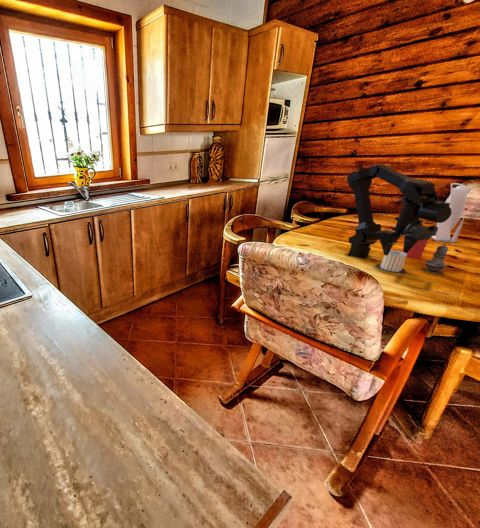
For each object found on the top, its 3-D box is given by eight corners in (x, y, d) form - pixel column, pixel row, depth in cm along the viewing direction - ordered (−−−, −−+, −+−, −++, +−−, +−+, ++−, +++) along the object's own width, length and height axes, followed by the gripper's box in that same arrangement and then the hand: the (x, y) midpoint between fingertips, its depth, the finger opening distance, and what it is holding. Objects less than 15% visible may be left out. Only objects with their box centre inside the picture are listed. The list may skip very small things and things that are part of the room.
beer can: (416, 260, 120) (427, 234, 116) (397, 255, 126) (406, 230, 121) (423, 257, 123) (434, 231, 118) (404, 252, 129) (413, 228, 124)
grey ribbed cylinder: (378, 268, 115) (383, 252, 112) (382, 264, 118) (387, 248, 115) (399, 273, 110) (405, 257, 107) (402, 268, 114) (408, 252, 111)
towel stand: (373, 269, 115) (376, 259, 113) (378, 263, 120) (382, 253, 118) (402, 276, 108) (406, 266, 107) (407, 269, 114) (411, 259, 112)
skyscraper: (433, 241, 139) (457, 184, 128) (425, 236, 146) (447, 181, 135) (456, 242, 136) (483, 184, 125) (446, 237, 143) (471, 181, 132)
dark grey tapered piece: (447, 275, 107) (460, 246, 102) (429, 274, 108) (441, 246, 104) (435, 269, 113) (447, 241, 108) (418, 268, 114) (429, 241, 109)
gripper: (411, 223, 97) (396, 264, 103) (456, 219, 99) (438, 258, 105) (380, 216, 107) (368, 253, 113) (421, 212, 109) (407, 248, 116)
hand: (395, 253), depth 112 cm, fingers open, 9 cm apart
